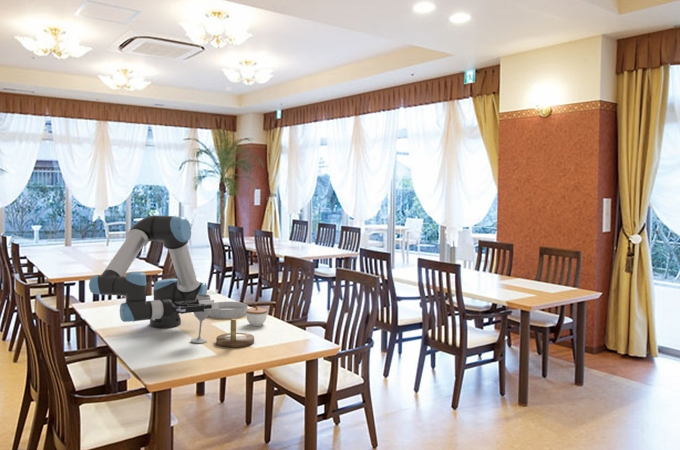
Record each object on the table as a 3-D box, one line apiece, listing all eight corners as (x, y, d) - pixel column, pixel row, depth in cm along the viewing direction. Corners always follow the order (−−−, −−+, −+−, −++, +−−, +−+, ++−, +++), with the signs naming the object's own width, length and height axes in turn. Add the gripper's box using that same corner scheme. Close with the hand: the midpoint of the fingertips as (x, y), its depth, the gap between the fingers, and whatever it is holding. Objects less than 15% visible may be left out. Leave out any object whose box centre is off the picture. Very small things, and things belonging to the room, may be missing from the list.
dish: (244, 309, 312) (245, 300, 312) (250, 317, 292) (250, 308, 291) (206, 310, 305) (206, 302, 305) (209, 319, 284) (209, 310, 284)
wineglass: (192, 343, 237) (197, 297, 236) (188, 338, 243) (193, 293, 242) (209, 343, 240) (213, 297, 239) (205, 338, 247) (209, 293, 246)
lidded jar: (262, 327, 269) (263, 309, 269) (242, 326, 271) (243, 308, 271) (269, 323, 280) (270, 305, 279) (250, 321, 282) (250, 304, 281)
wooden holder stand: (210, 339, 244) (211, 313, 244) (245, 335, 253) (245, 310, 253) (224, 349, 230) (224, 321, 229) (260, 344, 239) (260, 317, 239)
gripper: (155, 313, 224) (208, 308, 237) (166, 323, 209) (223, 316, 222) (155, 296, 224) (209, 292, 236) (167, 304, 209) (223, 299, 221)
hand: (215, 304), depth 229 cm, fingers open, 5 cm apart
